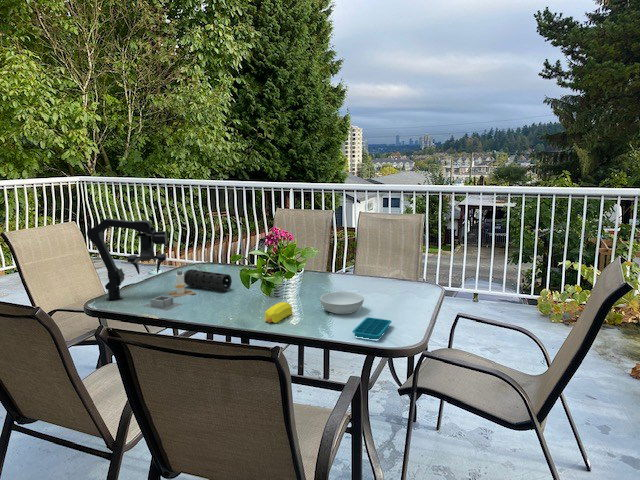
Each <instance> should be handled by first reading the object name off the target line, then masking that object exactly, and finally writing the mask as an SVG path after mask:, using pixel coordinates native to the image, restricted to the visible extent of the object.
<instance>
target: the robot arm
mask: <svg viewBox="0 0 640 480" xmlns="http://www.w3.org/2000/svg"><path fill="white" fill-rule="evenodd" d="M109 227H110V228H111V227H113V228H119V229H129V230H130V229H131V230H132V231H133V230H134V231H137V234H136V235H135V237H139V240H140V241H139V243H140V252H139V256H138V255H137V254H129V255H128V257H127V263H130V264H132V265H133V266H134V268H135V270H136V272H137V274H138V275H140V272H141V271H140V266H139V265H140V264H139V261H140V262H151V260H157V261H156V262H157V263H156V264H157V265H156V274H158V273H159V272H160V267H161V264H162V263H163V262H164V261H167V254H166V253H158V254H157V255H155V251H154V250H153V244H154V245H167V244H168V235H167V231H165V230H163V231H157V230H156V229H155V227H154V226H153V224H152V222H151V221H150V220H149V219H143V220H141V219H140V220H125V219H115V218H110V217H108V218H104V220H102V221H101V222H100V223H98V224H97V225H96V226H93V227H90V228H88V229H87V231H86V236H87V238H88V239H89V240H90V242H91V243H92V244H93V245H95V247H96V249H97V252H98V254H99V255H100V258H101V260H102V262H103V264H104V266H105V269H106V271H107V279H108V282H107V283H106V284H105V285H104V287H105V290H107V297H106V298H107V299H106V300H107V301H109V302H112V301H117V300H123V297H122V296H121V290H120V288H121V287H120V286H121V285H122V283H123V282H124V280H125V276H126V275H125V273H124V271H123V268H121V267H120V268H119V267H118V266H116V264H115V262H114V259H113V257H112V255H111V253H110V251H109V248H108V246H107V244H106V241H105V234H104V232H105V231H106V230H107V229H108V228H109Z"/></svg>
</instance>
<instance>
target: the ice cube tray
mask: <svg viewBox="0 0 640 480" xmlns="http://www.w3.org/2000/svg"><path fill="white" fill-rule="evenodd" d="M391 323H392V320H390V319H384V318H376V317H371V316H369V317H368V316H367V317H365V318H364V319H363V320H362V321H361V322H360V323H359V324H358V325H357V326H356V327H355V328H354V329H353V330H352V333H353V334H354V337H355V336H357V337H363V338H369V339H379V338H380V337H381V336H382V334H383V333H384V332H385V331H386V330H387V329H388V330H389V328H390V325H391ZM388 327H389V328H388ZM388 330H387V331H388ZM387 331H386V332H387ZM386 332H385V333H386ZM385 333H384V334H385ZM384 334H383V335H384ZM382 337H383V336H382ZM382 337H381V338H382ZM381 338H380V339H381ZM380 339H379V340H380Z"/></svg>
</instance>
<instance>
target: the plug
mask: <svg viewBox="0 0 640 480" xmlns="http://www.w3.org/2000/svg"><path fill="white" fill-rule="evenodd" d="M174 288H175V291H177V294H184V293H185V289H186V284H185V283H184V273H183V270H177V271H176V274H175V285H174Z"/></svg>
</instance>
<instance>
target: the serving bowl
mask: <svg viewBox="0 0 640 480" xmlns="http://www.w3.org/2000/svg"><path fill="white" fill-rule="evenodd" d="M319 299H320V304H321V305H322V307H323V308H324V309H325V310H326V311H328V312H330V313H333V314H338V315H347V314H351V313H355V312H357V311H359V310H360V309H361V307H362V306H363V304H364V301H365V300H364V299H365V297H364V296H363V294H360V293H356V292H352V291H342V290H339V291H330V292H327V293H324V294H322V295H321V296H320V298H319Z"/></svg>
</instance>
